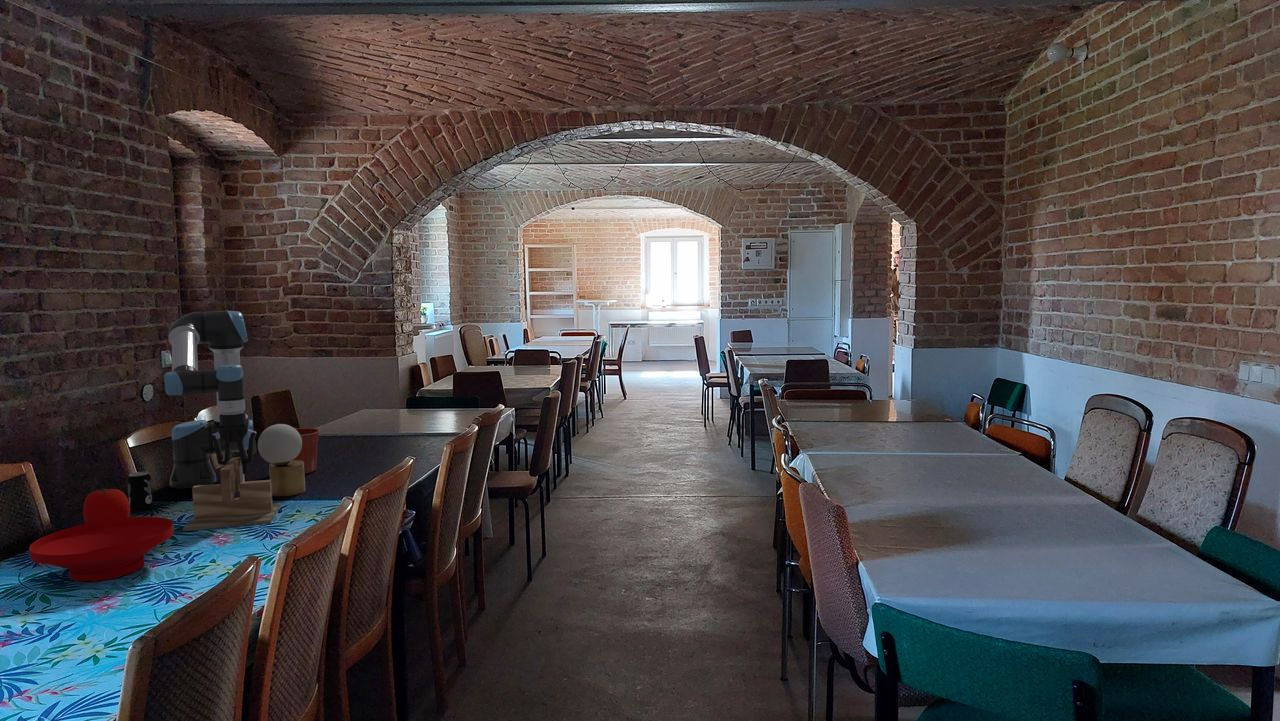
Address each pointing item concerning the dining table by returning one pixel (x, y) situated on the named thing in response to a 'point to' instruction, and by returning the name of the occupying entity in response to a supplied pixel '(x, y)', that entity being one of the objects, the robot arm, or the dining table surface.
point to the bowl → (102, 547)
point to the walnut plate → (230, 479)
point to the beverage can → (140, 491)
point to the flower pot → (308, 448)
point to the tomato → (105, 506)
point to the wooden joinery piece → (232, 506)
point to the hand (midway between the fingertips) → (237, 484)
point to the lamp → (283, 459)
